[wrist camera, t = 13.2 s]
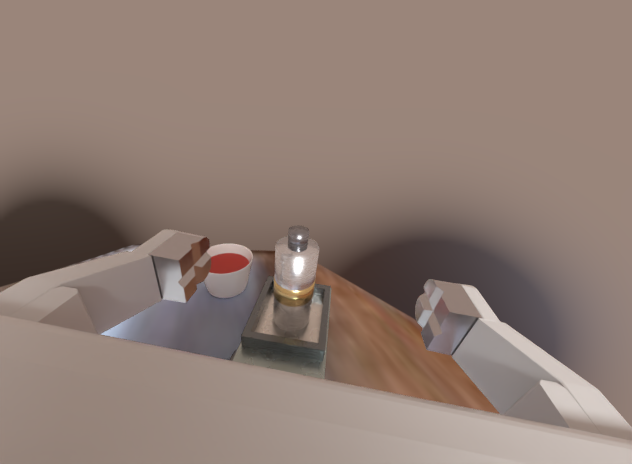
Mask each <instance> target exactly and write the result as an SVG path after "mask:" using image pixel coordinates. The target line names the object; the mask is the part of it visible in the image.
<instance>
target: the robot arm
mask: <svg viewBox="0 0 632 464" xmlns="http://www.w3.org/2000/svg"><path fill="white" fill-rule="evenodd" d="M209 248H210V243H209V239H208V238H207V237H204V236H199V235H195V234H190V233H185V232H179V231H175V230H170V229H165V230H162V231H161V232H159V233H158V234H156V235H155V236H154V237H152V238H151V239H149V240H148V241H146V242H145V243H143V244H142V245H140V246H139V247H138V248H136V249H135V250H133V251H132V252H129V251H125V252H121V253H118V254H114V255H110V256H106V257H103V258H99V259H95V260H91V261H88V262H84V263H80V264H76V265H73V266H69V267H65V268H61V269H58V270H54V271H50V272H46V273H43V274H39V275H35V276H32V277H28V278H26V279H24V280H22V281H20V282H18V283H16V284H15V285H13V286H11V287H9V288H7V289H5V290H4V291H2V292H0V464H632V427H631V426H630V425H629V424H628V423H627V422H626V421H625V419H624V418H623V417H622V416H621V415H620V414H619V413H618V411H617V410H616V409H615V408H614V407H613V406H612V405H611V404H610V402H609V401H608V400H607V399H606V398H605V397H604V396H603V394H602V393H601V392H600V391H599V390H598V389H597V388H595V387H594V386H593V385H591V384H590V383H588V382H587V381H585V380H584V379H583V378H581V377H580V376H578V375H577V374H576V373H574V372H573V371H571V370H570V369H569V368H567V367H566V366H564V365H563V364H562V363H560V362H559V361H557V360H556V359H555V358H553V357H552V356H550V355H549V354H547V353H546V352H545V351H543V350H542V349H541V348H539V347H538V346H536V345H535V344H534V343H532V342H531V341H529V340H528V339H527V338H525V337H524V336H522V335H521V334H520V333H518V332H517V331H515V330H514V329H513V328H511V327H510V326H508V325H507V324H506V323H501V322H500V321H499V320H498V318H497V317H496V315H495V314H494V313H493V311H492V310H491V308H490V307H489V306H488V304H487V303H486V301H485V300H484V299H483V297H482V296H481V294H480V293H479V292H478V290H477V289H476V288H475V287H473V286H469V285H462V284H454V283H449V282H443V281H437V280H432V279H429V280H428V281H427V282H426V284H425V286H424V290H425V293H424V294H423V295H421V296H419V298H418V300H417V303H416V308H415V313H416V319H417V322H418V323H419V324H420V325H421V326H422V327H423V330H422V332H421V334H422V337H423V340H424V343H425V346H426V349H427V350H430V351H434V352H439V353H443V354H448V355H452V358H453V359H454V360H455V361H456V362H457V363H458V365H459V366H460V367H461V368H462V369H463V370H464V372H465V373H466V374H467V375H468V376H469V378H470V379H471V380H472V381H473V382H474V383H475V385H476V386H477V387H478V388H479V389H480V390H481V392H482V393H483V394H484V395H485V396H486V398H487V399H488V400H489V401H490V402H491V403H492V405H493V406H494V407H495V408H496V409H497V410H498V412H499V413H500V414H496V413H491V412H486V411H481V410H476V409H471V408H466V407H461V406H456V405H451V404H446V403H441V402H436V401H431V400H426V399H421V398H416V397H411V396H406V395H401V394H396V393H391V392H386V391H381V390H376V389H371V388H366V387H361V386H355V385H350V384H345V383H340V382H335V381H330V380H325V379H320V378H315V377H310V376H305V375H300V374H295V373H290V372H285V371H280V370H275V369H270V368H265V367H260V366H255V365H250V364H245V363H240V362H235V361H230V360H225V359H220V358H215V357H210V356H205V355H200V354H195V353H190V352H185V351H180V350H175V349H170V348H165V347H160V346H155V345H150V344H145V343H140V342H135V341H130V340H125V339H120V338H115V337H110V336H105V335H100V334H101V333H103V332H105V331H107V330H109V329H110V328H112V327H114V326H116V325H118V324H120V323H121V322H123V321H125V320H127V319H129V318H130V317H132V316H134V315H136V314H138V313H139V312H141V311H143V310H145V309H147V308H148V307H150V306H152V305H154V304H156V303H158V302H159V301H161V300H162V299H165V300H171V301H177V302H183V303H186V302H187V301H188V300H189V299H190V298H191V296H192V295H193V294H194V293H195V291H196V290H197V286H196V284H198V283H201V282H203V281H204V280H205V279H206V277H207V276H208V274H209V271H210V269H211V256H210V255H209V254H208V253H207V250H208V249H209Z"/></svg>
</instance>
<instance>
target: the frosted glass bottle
mask: <svg viewBox="0 0 632 464" xmlns="http://www.w3.org/2000/svg"><path fill="white" fill-rule="evenodd" d="M275 248H276V249H275V274H274V305H273V320H274V322H275V324H276V325H277V326H278V327H279V328H281V329H282V330H285V331H298V330H300V329H302V328H304V327H305V326H306V325H307V324H308V322H309V318H310V311H311V304H312V297H313V292H314V285H315V275H316V268H317V261H318V253H319V246H318V244H317V243H316V242H315V241H314V240H313V239H311V238H309V229H308V228H306V227H304V226H292V227H290V228H289V232H288V236H286V237H283V238H281V239H280V240H278V241H277V243H276V247H275Z"/></svg>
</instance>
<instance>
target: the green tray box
mask: <svg viewBox="0 0 632 464" xmlns="http://www.w3.org/2000/svg"><path fill="white" fill-rule="evenodd" d="M330 287H331V286H326V285H320V284H315V285H314V292H313V297H312V304H311V311H310V318H309V322H308V324H307V325H306V326H305V327H304V328H302V329H300V330H298V331H285V330H282V329H281V328H279V327H278V326H277V325H276V324H275V322H274V320H273V305H274V277H272V276H268V278H267V280H266V283H265V285H264V287H263V289H262V291H261V293H260V296H259V298H258V300H257V302H256V304H255V307H254V309H253V311H252V313H251V315H250V318H249V320H248V322H247V324H246V326H245V328H244V331H243V333H242V335H241V343H240V345H239V347H238V349H237V350H236V351H234V353H233V354H232V356H231V358H230V361H235V362H240V363H245V364H250V365H255V366H260V367H265V368H270V369H275V370H280V371H285V372H290V373H295V374H300V375H305V376H310V377H315V378H320V379H324V376H325V363H326V350H327V338H328V325H329V312H330V300H331V288H330Z"/></svg>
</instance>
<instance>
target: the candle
mask: <svg viewBox="0 0 632 464" xmlns="http://www.w3.org/2000/svg"><path fill="white" fill-rule="evenodd" d="M207 253H208V254H209V255H210V256H211V269H210V271H209V274H208V276H207V277H206V279H205V280H204V283H205V285H206V288H207V290H208V292H209V293H210V294H211V295H213V296H215V297H218V298H230V297H234V296H236V295H238V294H240V293H241V292H243V291H244V290H245V288H246V286H247V283H248V278H249V274H250V269H251V264H252V259H253V255H252V252H251V251H250V250H249V249H248V248H246V247H244V246H241V245H238V244H219V245H216V246H212V247H210V248H209V249H208V250H207Z"/></svg>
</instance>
